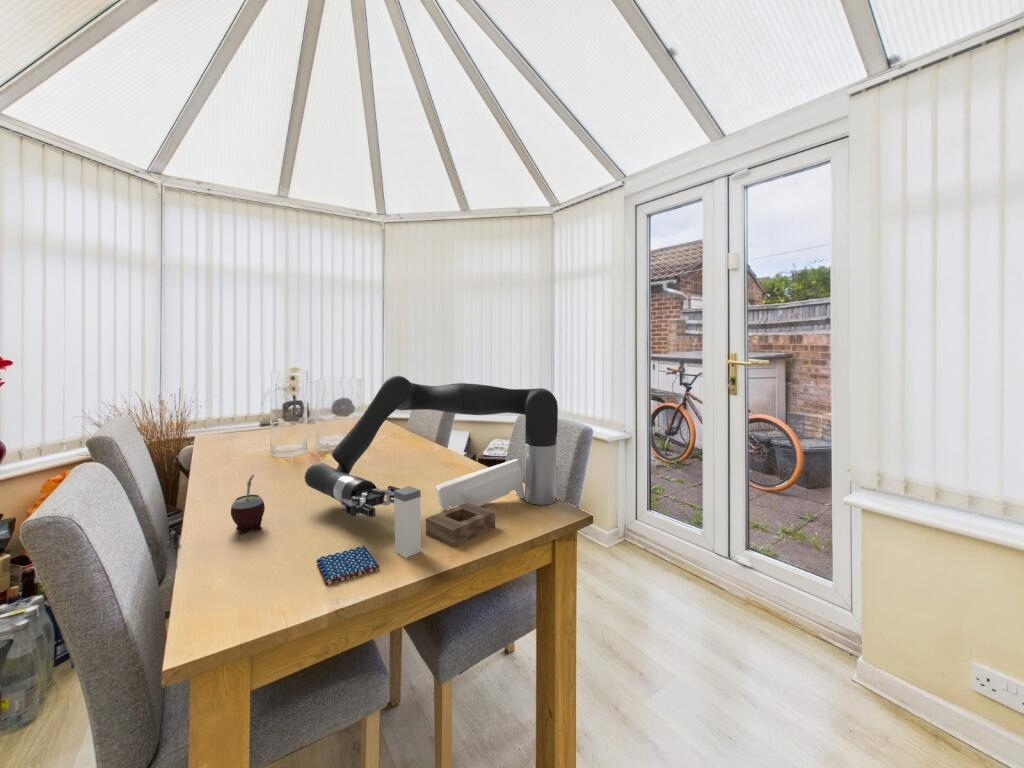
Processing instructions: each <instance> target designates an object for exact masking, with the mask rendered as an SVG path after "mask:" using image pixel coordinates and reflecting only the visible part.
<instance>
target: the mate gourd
mask: <svg viewBox="0 0 1024 768" xmlns="http://www.w3.org/2000/svg"><path fill="white" fill-rule="evenodd" d="M254 477H255V475H254V474H252V475H251V476H250V478H248V481H247V483H246V484H247V487H246V494H245V495H242V496H239V497H237V498H235V499H234V501H233V502H232V504H231V509H230V515H231V519H232V521H233V523H234V524H235V525H236V527H235V530H236V529H240V530H239V533H238V534H243V533H244V534H246V533H247V532H249V531H261V530H262V529H263V527H262V522H263V517H264V514H265V510H266V509H265V507H266V506H265V502H264V499H263V498H262V497H261V496H260V495H258V494H250V490H251V486H252V480H253V479H254ZM248 530H249V531H248ZM246 531H247V532H246ZM245 532H246V533H245ZM244 534H243V535H244Z"/></svg>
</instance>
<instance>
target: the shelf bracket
mask: <svg viewBox="0 0 1024 768" xmlns="http://www.w3.org/2000/svg"><path fill="white" fill-rule="evenodd" d="M523 482H524V477H523V471H522V468H520V463H519V459H517V458H514V459H511V460H508V461H505V462H502V463H499V464H496V465H495V464H494V465H493V466H490V467H487V468H482V469H480V470H477V471H473V472H471V473H468V474H464V475H461V476H459V477H456V478H453V479H450V480H447V481H445V482H442V483H438V484H437V485H436V486H435V490H436V496H437V499H438V504H439V507H441V509H442V510H444V511H447V510H449V509H451V508H455V507H457V506H460V505H463V504H465V503H471V504H474V505H477V506H479V507H482V506H483V505H486V504H488V503H491V502H493V501H495V500H498V499H500V498H503V497H505V496H508V495H509V494H510V493H511V492H512V491H513V493H514V495H515V496H516V497H518V498H519V499H522V498H525V488H524V485H523Z"/></svg>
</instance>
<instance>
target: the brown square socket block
mask: <svg viewBox="0 0 1024 768" xmlns="http://www.w3.org/2000/svg"><path fill="white" fill-rule="evenodd" d="M495 528H496V511H493V510H491V509H488V508H485V507H483V506H477V505H474V504H471V503H465V504H463V505H460V506H455V507H451V508H450V509H447V510H444V511H442V512H438V513H436V514H434V515H431V516H429V517H426V518H425V535H426V536H429V537H431V538H433V539H435V540H437V541H439V542H441V543H443V544H446V545H448V546H450V547H452V548H455V547H457V546H459V545H461V544H463V543H465V542H467V541H470V540H471V539H474V538H476V537H478V536H480V535H482V534H485V533H487V532H488V531H491V530H492V529H493V530H494V529H495Z"/></svg>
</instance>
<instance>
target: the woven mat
mask: <svg viewBox="0 0 1024 768" xmlns="http://www.w3.org/2000/svg"><path fill="white" fill-rule="evenodd" d="M315 563H316V566H317V568H318V569H319V573H320V574H321V576H322V579H323V581H324V584H325V585H327V586H330V585H332V584H333V583H335V584H336V583H339V581H340V582H344V581H345V579H346V580H350V578H351V577H352V578H353V579H356V578H357V576H358V577H361V576H362V575H363V574H364V575H367V574H368V572H369V573H373V572H374V571H376V572H377V571H379V568H380V565H379V563H378V562H377V560H376V559H375V557H374V556H373V555H372V554H371V552H370V551H369V550H368V548H367V547H366V546H365V545H363V546H358V547H356V548H349V549H348V550H343V551H341V552H335V553H332V554H328V555H322V556H320V557H319V558H317V559H316V562H315Z"/></svg>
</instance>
